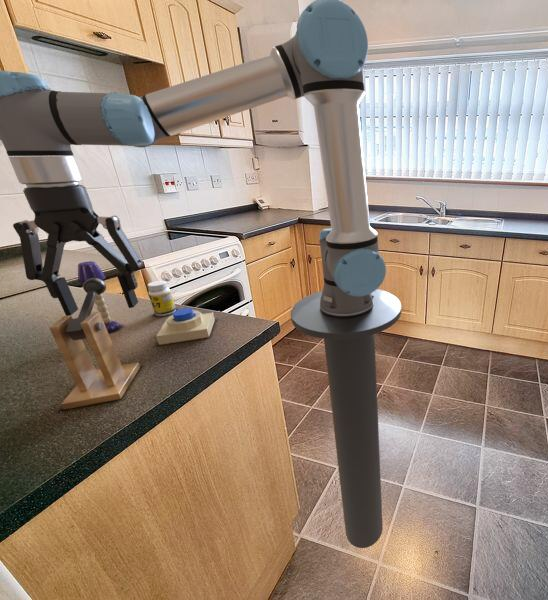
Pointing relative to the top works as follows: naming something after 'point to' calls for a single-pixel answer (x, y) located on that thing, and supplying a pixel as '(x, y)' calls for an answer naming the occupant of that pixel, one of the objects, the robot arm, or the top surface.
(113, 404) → the top surface
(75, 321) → the switch lever
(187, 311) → the switch button
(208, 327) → the button box
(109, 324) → the toy lamp
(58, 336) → the lever bracket
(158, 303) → the supplement bottle
